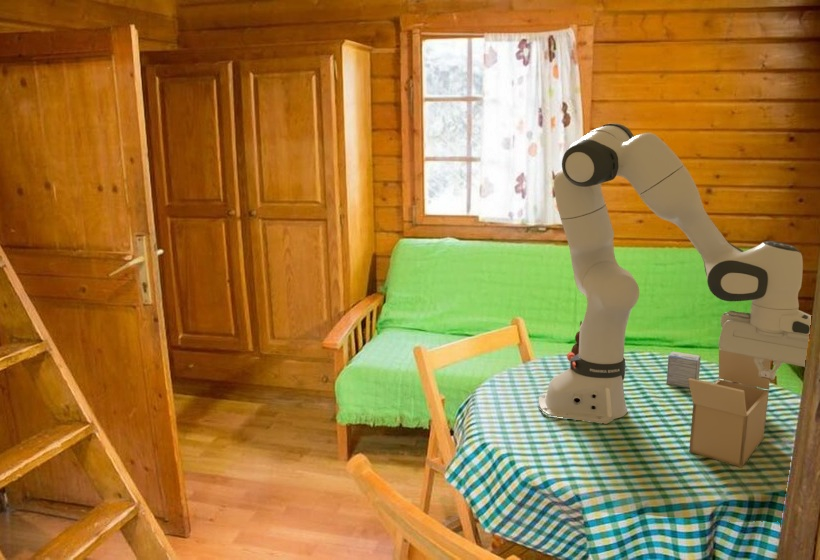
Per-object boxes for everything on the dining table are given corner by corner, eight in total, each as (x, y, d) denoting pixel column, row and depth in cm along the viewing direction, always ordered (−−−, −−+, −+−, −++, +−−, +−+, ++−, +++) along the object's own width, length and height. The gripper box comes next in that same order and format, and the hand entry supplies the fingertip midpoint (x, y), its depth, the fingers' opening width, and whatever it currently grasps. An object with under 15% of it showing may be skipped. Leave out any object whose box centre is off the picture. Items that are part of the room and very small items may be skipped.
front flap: (693, 401, 143) (692, 403, 143) (689, 377, 138) (688, 379, 138) (746, 415, 136) (746, 416, 135) (744, 390, 131) (743, 392, 131)
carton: (689, 451, 146) (693, 402, 143) (713, 425, 158) (718, 379, 155) (741, 467, 139) (747, 415, 136) (763, 438, 151) (769, 390, 148)
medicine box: (698, 384, 183) (701, 355, 181) (696, 389, 179) (698, 360, 177) (669, 379, 187) (671, 350, 185) (665, 384, 183) (668, 355, 181)
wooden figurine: (579, 371, 194) (581, 323, 190) (567, 365, 199) (569, 318, 196) (597, 368, 197) (599, 320, 193) (585, 362, 202) (587, 315, 198)
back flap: (718, 349, 152) (719, 348, 152) (718, 378, 155) (719, 377, 155) (769, 359, 145) (770, 358, 145) (768, 389, 148) (769, 388, 148)
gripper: (717, 312, 143) (712, 371, 146) (824, 329, 130) (816, 393, 133) (726, 306, 148) (720, 363, 151) (831, 322, 135) (822, 384, 138)
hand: (766, 377), depth 142 cm, fingers closed
